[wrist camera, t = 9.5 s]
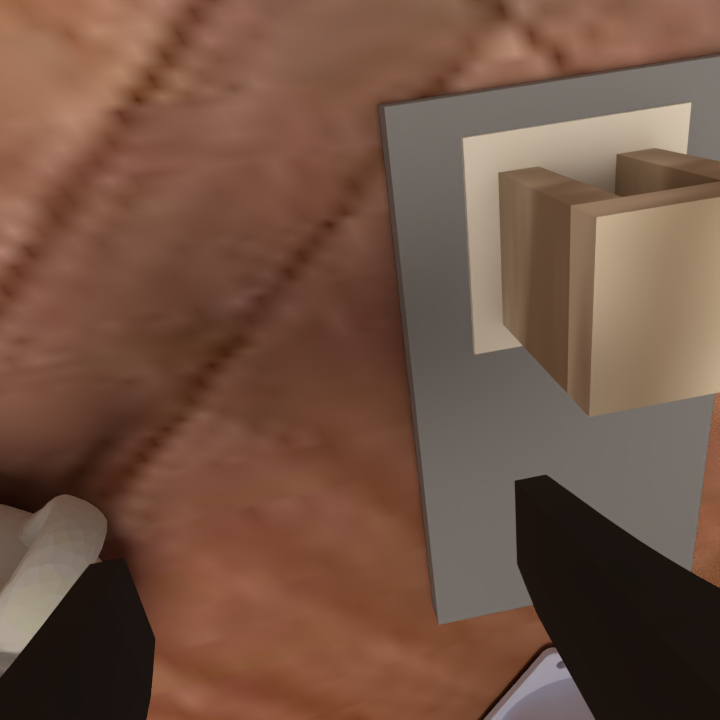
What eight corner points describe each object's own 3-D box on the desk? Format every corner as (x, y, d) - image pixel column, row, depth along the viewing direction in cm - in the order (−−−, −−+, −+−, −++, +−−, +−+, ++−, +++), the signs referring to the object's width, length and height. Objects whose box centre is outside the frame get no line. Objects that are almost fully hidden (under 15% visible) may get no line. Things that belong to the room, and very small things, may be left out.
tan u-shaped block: (655, 148, 19) (814, 181, 13) (643, 299, 21) (777, 381, 15) (498, 172, 18) (596, 217, 13) (503, 324, 20) (589, 417, 15)
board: (677, 555, 28) (694, 574, 27) (432, 606, 27) (439, 628, 26) (736, 51, 19) (765, 50, 18) (378, 105, 18) (385, 107, 17)
